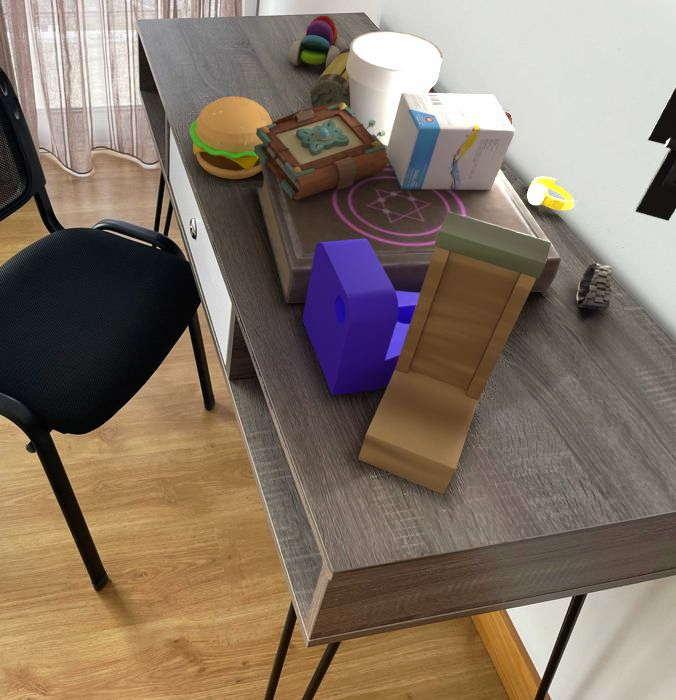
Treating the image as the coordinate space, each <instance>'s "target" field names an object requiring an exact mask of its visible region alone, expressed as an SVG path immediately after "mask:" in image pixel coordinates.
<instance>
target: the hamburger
mask: <svg viewBox="0 0 676 700" xmlns="http://www.w3.org/2000/svg"><path fill="white" fill-rule="evenodd" d="M272 122H273V119H272V117H271V116H270V114H269V112H268V111H267V109H266V108H265V107H263V106H262V104H261V105H260V104H259V103H258V102H256V101H255V100H253V99H250V98H248V97H244V96H236V95H235V96H234V95H232V96H224V97H220V98H218V99H216V100H214V101H212V102H210V103H209V104H207V105H205V106H204V107H203V109H202V110H201V111H200V113H199V115H198V116H197V119H195V120H194V121H192V122H191V124H190V127H189V135H190V138H191V141H192V143H193V144H192V152H193V154H194V156H196V159H197V162H198V163H199V165H200V166H201V167H202V168H203V169H204V171H206V172H207V173H209V174H210V175H213V176H214V177H219V178H221V179H226V180H227V179H230V180H242V179H248V178H251V177H253V176H256V175H258V174H259V173H261V172H262V169H261V165H260V159H259V157H258V156H257V155H256V154H255V152H254V147H255V146H256V145H259V144H262V143H263V142H262V141H261V140H260V139H259V137H258V136H257V135H256V132H257V128H260V127H264V126H267V125H270V124H273V123H272Z"/></svg>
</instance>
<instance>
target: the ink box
mask: <svg viewBox="0 0 676 700" xmlns="http://www.w3.org/2000/svg"><path fill="white" fill-rule="evenodd" d="M502 109H503V108H502V106H501V105H500V104H499V102H498V100H497V99H496V97H495V96H494V95H493V94H477V93H476V94H471V93H441V92H440V93H439V92H438V93H437V92H433V93H401V96H400V100H399V104H398V107H397V111H396V115H395V119H394V123H393V126H392V130H391V134H390V138H389V142H388V146H387V150H386V153H387V155H388V158H389V160H390V163H391V166H392V168H393V170H394V173H395V176H396V178H397V180H398V183H399V186H400V188H401V189H446V190H491V189H492V186H493V184H494V181H495V179H496V176H497V174H498V172H499V169H500V170H501V167H502V165H503V161H504V159H505V158H506V154H507V152H508V150H509V147H510V145H511V143H512V140H513V138H514V135H515V133H516V130H515V128H514V127H513V125H511V123H510V122H509V120H508V119H507V117H506V115H505V114H504V112H503V110H502Z"/></svg>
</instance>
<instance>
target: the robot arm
mask: <svg viewBox="0 0 676 700" xmlns="http://www.w3.org/2000/svg"><path fill="white" fill-rule="evenodd" d="M647 141H650V142H654V143H658V144H661V145H664V148H666V149H667V151H666V153H665V155H664V156H663V159H662V161H660V164H659V166H658V167H657V169H656V171H655V173H654V175H653V176H652V178H651V179H650V182H649V183H648V185H647V187H646V189H645V191H644V192H643V194H642V196H641V198H640V200H639V202H638V203H637V205H636V207H635V212H636V213H638V214H642V215H646V216H648V217H649V216H650V217H653V218H656V219H660V220H663V221H668V222H669V221H670V220H671V218H672V216H673V214H674V213H675V211H676V84H675V86H674V87H673V89H672V90H671V92H670V95H669V96H668V98H667V100H666V102H665V104H664V106H663V108H662V110H661V112H660V114H659V115H658V117H657V119H656V122H655V123H654V125H653V127H652V128H651V130H650V132H649V135H648V137H647Z"/></svg>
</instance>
